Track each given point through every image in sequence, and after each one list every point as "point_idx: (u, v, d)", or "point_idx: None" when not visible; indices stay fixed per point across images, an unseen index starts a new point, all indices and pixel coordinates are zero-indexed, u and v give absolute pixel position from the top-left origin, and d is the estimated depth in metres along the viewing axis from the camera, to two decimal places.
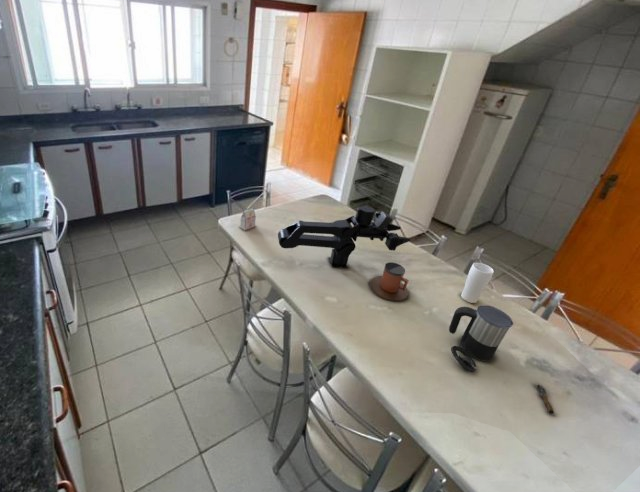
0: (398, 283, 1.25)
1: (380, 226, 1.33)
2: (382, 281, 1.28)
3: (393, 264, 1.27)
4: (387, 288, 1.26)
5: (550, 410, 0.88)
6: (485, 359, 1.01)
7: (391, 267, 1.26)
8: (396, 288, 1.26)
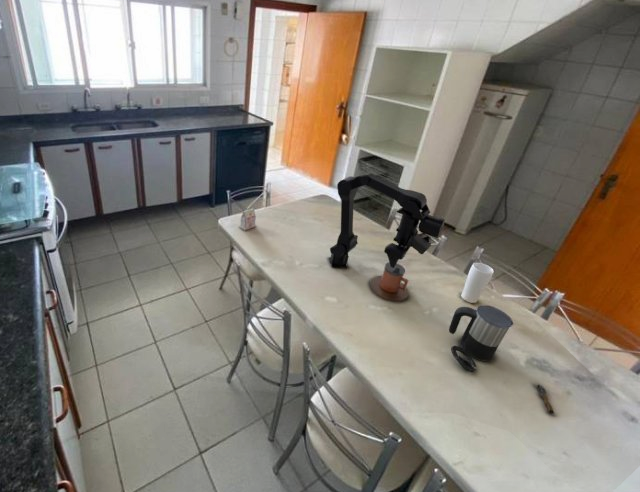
0: (398, 283, 1.25)
1: (414, 241, 1.15)
2: (382, 281, 1.28)
3: None
4: (387, 288, 1.26)
5: (550, 410, 0.88)
6: (485, 359, 1.01)
7: (391, 267, 1.26)
8: (396, 288, 1.26)
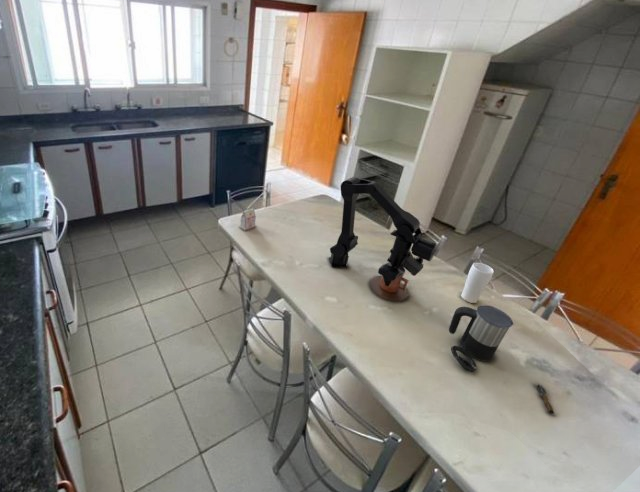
0: (398, 283, 1.25)
1: (407, 262, 1.19)
2: (382, 281, 1.28)
3: None
4: (387, 288, 1.26)
5: (550, 410, 0.88)
6: (485, 359, 1.01)
7: None
8: (396, 288, 1.26)
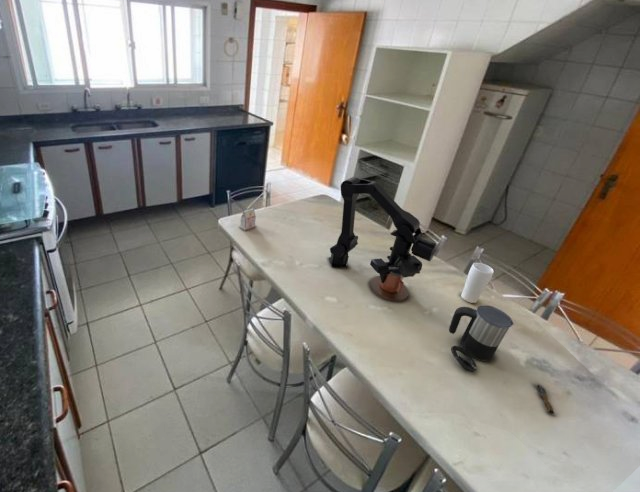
0: (393, 283, 1.24)
1: (400, 262, 1.19)
2: None
3: None
4: (382, 285, 1.28)
5: (550, 410, 0.88)
6: (485, 359, 1.01)
7: None
8: (391, 288, 1.26)
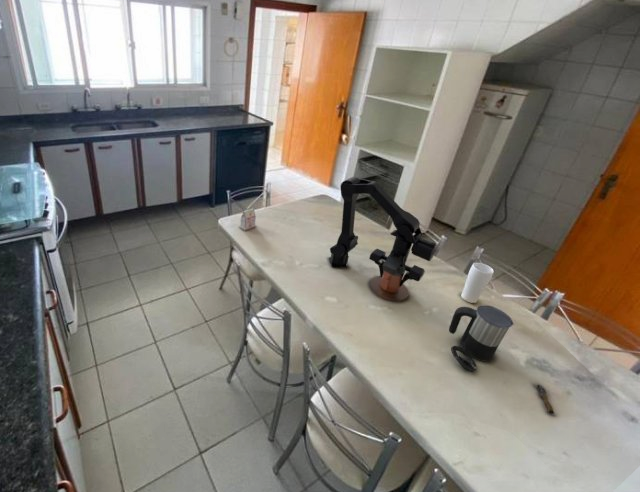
0: (384, 279, 1.26)
1: (389, 257, 1.22)
2: None
3: None
4: None
5: (550, 410, 0.88)
6: (485, 359, 1.01)
7: None
8: (383, 284, 1.28)
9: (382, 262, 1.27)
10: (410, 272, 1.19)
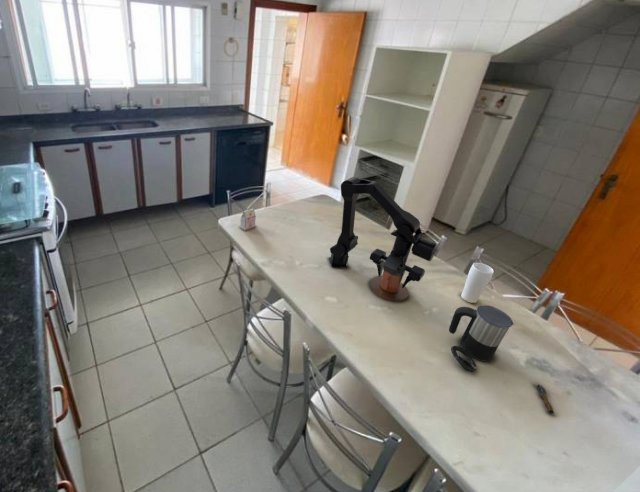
0: (384, 279, 1.26)
1: (389, 257, 1.22)
2: None
3: None
4: None
5: (550, 410, 0.88)
6: (485, 359, 1.01)
7: None
8: (383, 284, 1.28)
9: (380, 261, 1.28)
10: (410, 272, 1.19)
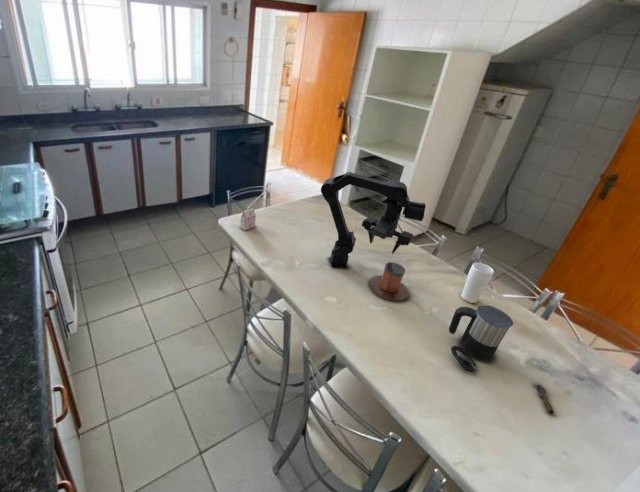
0: (384, 279, 1.26)
1: None
2: None
3: (401, 268, 1.25)
4: None
5: (550, 410, 0.88)
6: (485, 359, 1.01)
7: (394, 265, 1.27)
8: (383, 284, 1.28)
9: (371, 228, 1.32)
10: (399, 236, 1.23)
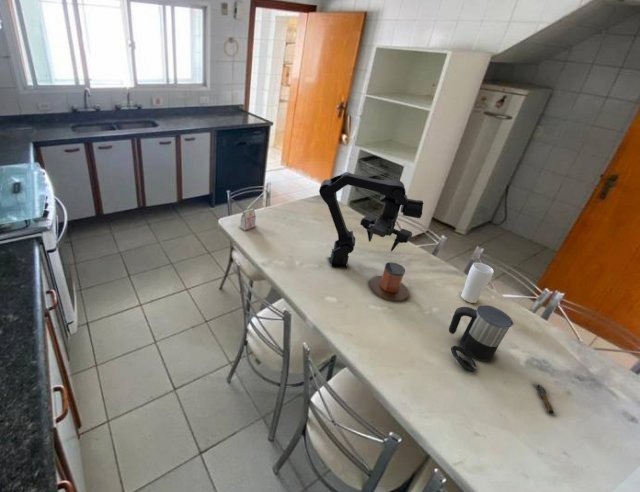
0: (384, 279, 1.26)
1: (378, 220, 1.28)
2: None
3: (401, 268, 1.25)
4: None
5: (550, 410, 0.88)
6: (485, 359, 1.01)
7: (394, 265, 1.27)
8: (383, 284, 1.28)
9: (370, 226, 1.33)
10: (398, 234, 1.24)
